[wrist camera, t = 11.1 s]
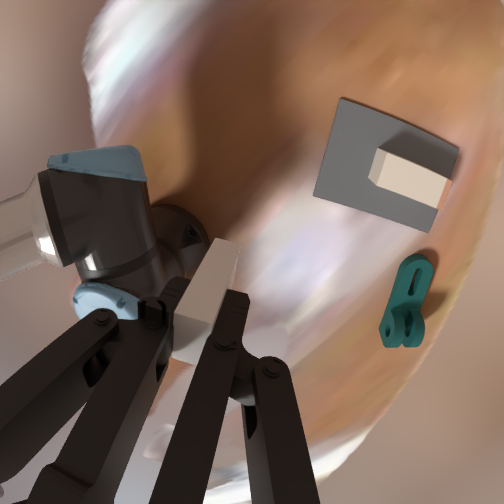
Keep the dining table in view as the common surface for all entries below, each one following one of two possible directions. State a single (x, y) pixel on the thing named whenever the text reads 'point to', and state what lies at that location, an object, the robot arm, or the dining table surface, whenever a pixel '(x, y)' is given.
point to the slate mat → (361, 158)
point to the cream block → (409, 179)
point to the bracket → (406, 304)
